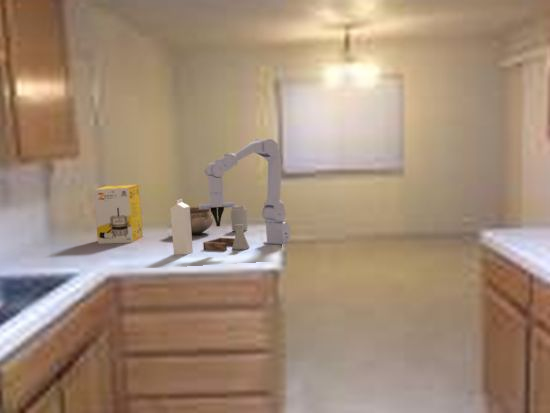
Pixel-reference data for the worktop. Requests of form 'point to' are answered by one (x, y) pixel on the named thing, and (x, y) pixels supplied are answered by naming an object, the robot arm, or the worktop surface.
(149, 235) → the worktop surface
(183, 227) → the milk
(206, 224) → the cooking pot
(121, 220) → the packaging box
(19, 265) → the worktop surface
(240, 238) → the flask
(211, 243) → the box
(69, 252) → the worktop surface
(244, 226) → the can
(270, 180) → the robot arm
